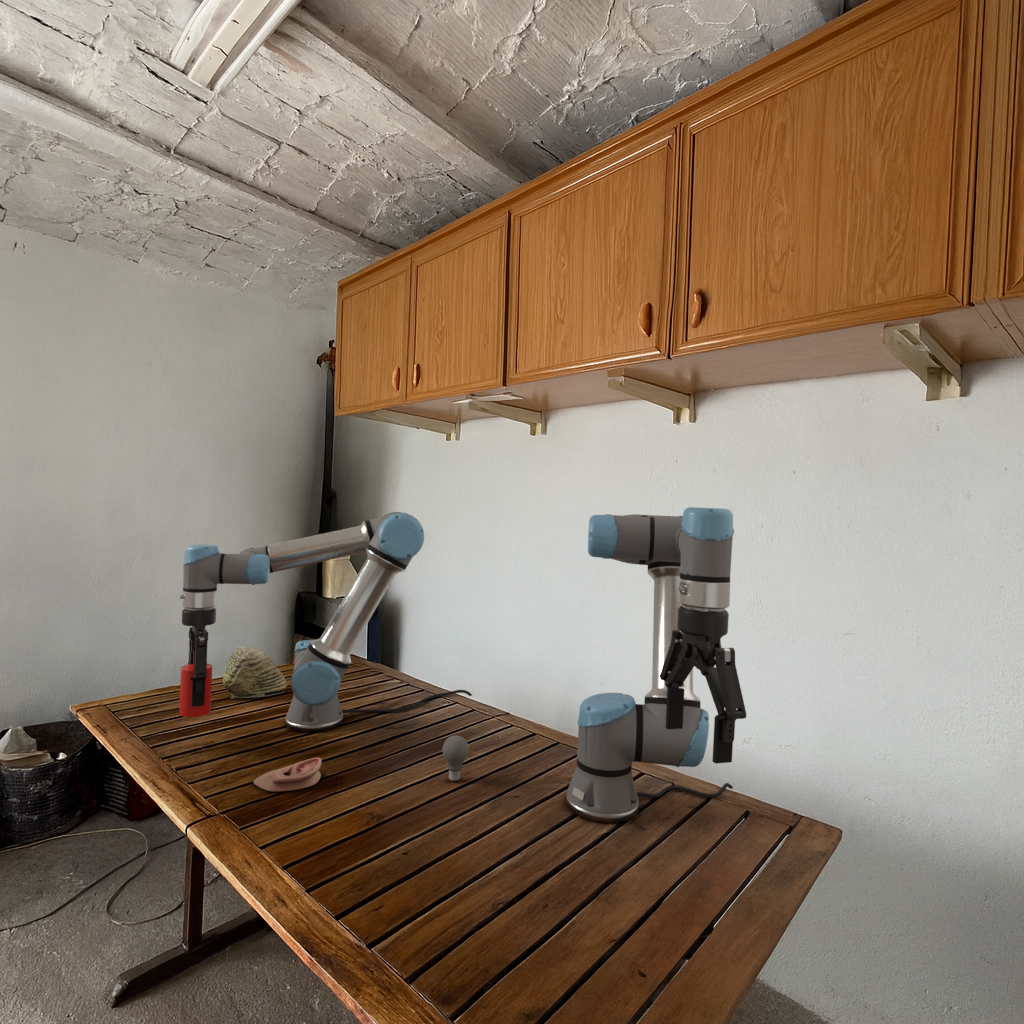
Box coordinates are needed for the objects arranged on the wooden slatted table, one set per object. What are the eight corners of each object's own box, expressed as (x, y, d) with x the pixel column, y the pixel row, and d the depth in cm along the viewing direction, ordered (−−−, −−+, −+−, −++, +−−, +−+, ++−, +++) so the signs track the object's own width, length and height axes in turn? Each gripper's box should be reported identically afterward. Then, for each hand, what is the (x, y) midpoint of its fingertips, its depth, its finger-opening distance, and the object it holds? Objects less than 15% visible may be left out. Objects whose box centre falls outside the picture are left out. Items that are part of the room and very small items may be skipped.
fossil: (218, 695, 195) (220, 647, 195) (278, 685, 208) (279, 640, 207) (228, 703, 189) (230, 653, 188) (289, 692, 201) (290, 645, 201)
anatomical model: (245, 769, 136) (276, 749, 147) (245, 787, 136) (275, 766, 147) (302, 777, 133) (328, 756, 144) (301, 796, 133) (328, 773, 144)
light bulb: (441, 773, 147) (443, 731, 147) (467, 774, 147) (469, 731, 147) (440, 785, 141) (442, 741, 141) (467, 785, 141) (469, 741, 141)
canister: (216, 708, 159) (217, 663, 159) (202, 717, 152) (203, 671, 152) (188, 707, 159) (190, 662, 159) (173, 716, 152) (175, 669, 152)
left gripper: (178, 602, 161) (175, 691, 162) (186, 616, 145) (183, 715, 145) (210, 600, 166) (207, 688, 166) (222, 614, 149) (218, 711, 149)
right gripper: (643, 594, 109) (637, 717, 109) (730, 623, 85) (722, 781, 85) (682, 594, 111) (676, 715, 111) (778, 623, 87) (770, 777, 87)
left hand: (196, 700), depth 156 cm, fingers closed on canister, 7 cm apart
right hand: (696, 744), depth 98 cm, fingers open, 13 cm apart
